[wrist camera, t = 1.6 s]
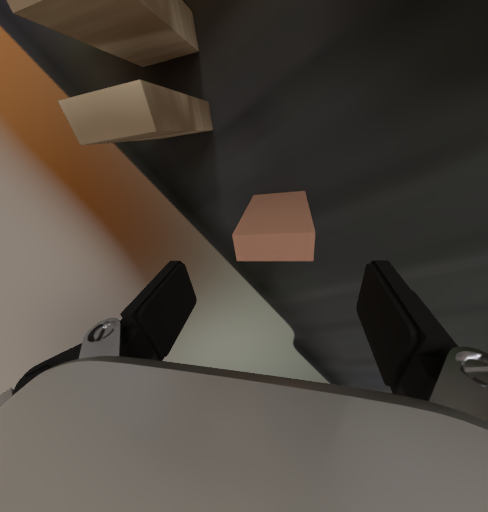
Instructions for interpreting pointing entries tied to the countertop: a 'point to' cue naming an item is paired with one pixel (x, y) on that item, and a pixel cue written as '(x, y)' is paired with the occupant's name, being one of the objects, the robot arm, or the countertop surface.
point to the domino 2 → (135, 114)
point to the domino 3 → (276, 229)
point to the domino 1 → (119, 25)
